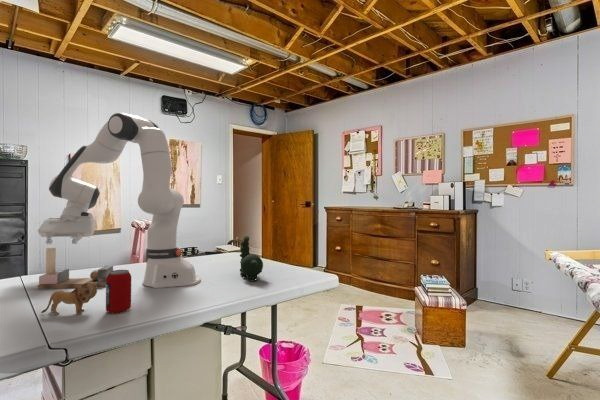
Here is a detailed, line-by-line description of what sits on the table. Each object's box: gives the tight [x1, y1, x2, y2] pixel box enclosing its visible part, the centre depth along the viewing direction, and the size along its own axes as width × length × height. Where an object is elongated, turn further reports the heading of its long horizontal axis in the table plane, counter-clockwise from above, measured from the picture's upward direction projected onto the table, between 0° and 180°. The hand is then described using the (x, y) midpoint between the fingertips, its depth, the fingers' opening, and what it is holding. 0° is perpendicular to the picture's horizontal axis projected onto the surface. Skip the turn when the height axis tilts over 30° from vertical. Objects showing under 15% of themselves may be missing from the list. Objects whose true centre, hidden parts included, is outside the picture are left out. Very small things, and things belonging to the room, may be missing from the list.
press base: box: [36, 265, 114, 290], centre depth 132 cm, size 24×10×6 cm, turn 102°
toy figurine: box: [239, 235, 264, 281], centre depth 147 cm, size 9×19×25 cm
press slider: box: [38, 247, 70, 285], centre depth 130 cm, size 7×8×13 cm
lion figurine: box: [40, 282, 98, 316], centre depth 99 cm, size 15×5×9 cm, turn 104°
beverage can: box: [105, 269, 132, 315], centre depth 101 cm, size 7×7×12 cm
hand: (61, 243), depth 138 cm, fingers open, 8 cm apart
